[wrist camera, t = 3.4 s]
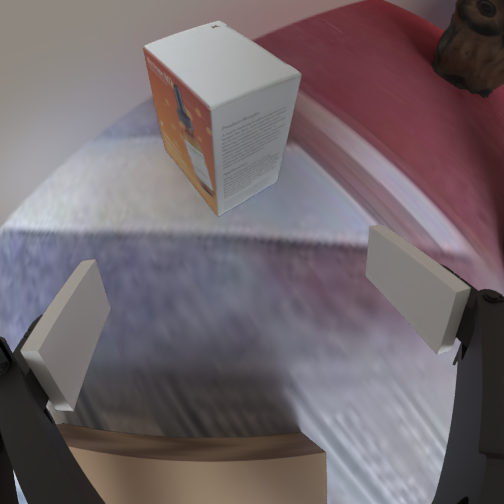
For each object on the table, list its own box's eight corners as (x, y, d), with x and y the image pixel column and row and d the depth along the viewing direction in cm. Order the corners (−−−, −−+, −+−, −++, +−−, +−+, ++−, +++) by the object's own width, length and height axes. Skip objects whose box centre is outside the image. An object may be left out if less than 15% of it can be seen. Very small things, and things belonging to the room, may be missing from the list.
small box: (165, 151, 24) (139, 44, 15) (221, 122, 26) (219, 17, 16) (217, 220, 22) (208, 108, 12) (279, 183, 24) (304, 71, 14)
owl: (499, 95, 34) (551, 13, 15) (482, 116, 30) (550, 12, 12) (441, 48, 37) (480, -38, 18) (412, 58, 33) (458, -52, 15)
